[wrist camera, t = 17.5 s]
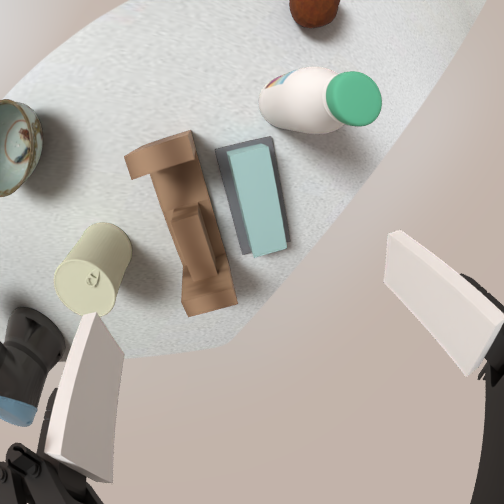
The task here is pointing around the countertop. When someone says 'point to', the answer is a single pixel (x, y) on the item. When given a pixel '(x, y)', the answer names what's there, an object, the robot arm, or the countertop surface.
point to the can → (94, 270)
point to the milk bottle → (320, 100)
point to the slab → (258, 198)
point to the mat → (232, 194)
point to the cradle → (188, 220)
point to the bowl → (18, 144)
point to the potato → (313, 12)
